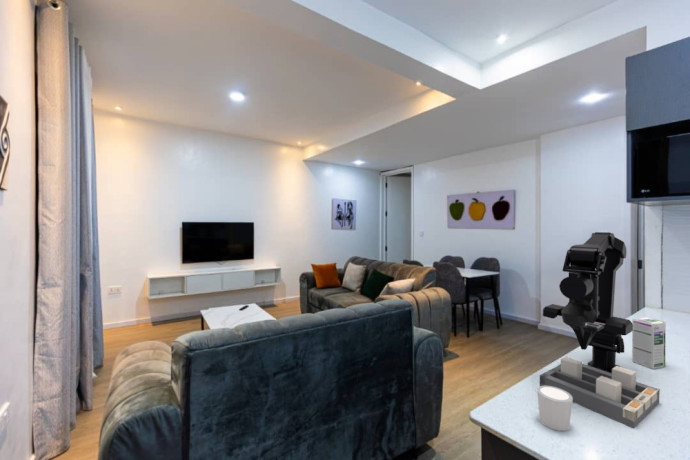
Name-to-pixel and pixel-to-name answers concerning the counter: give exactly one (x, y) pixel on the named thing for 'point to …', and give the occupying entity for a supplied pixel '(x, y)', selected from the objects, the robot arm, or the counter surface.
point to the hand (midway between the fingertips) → (583, 349)
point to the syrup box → (648, 342)
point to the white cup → (554, 407)
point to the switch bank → (584, 394)
